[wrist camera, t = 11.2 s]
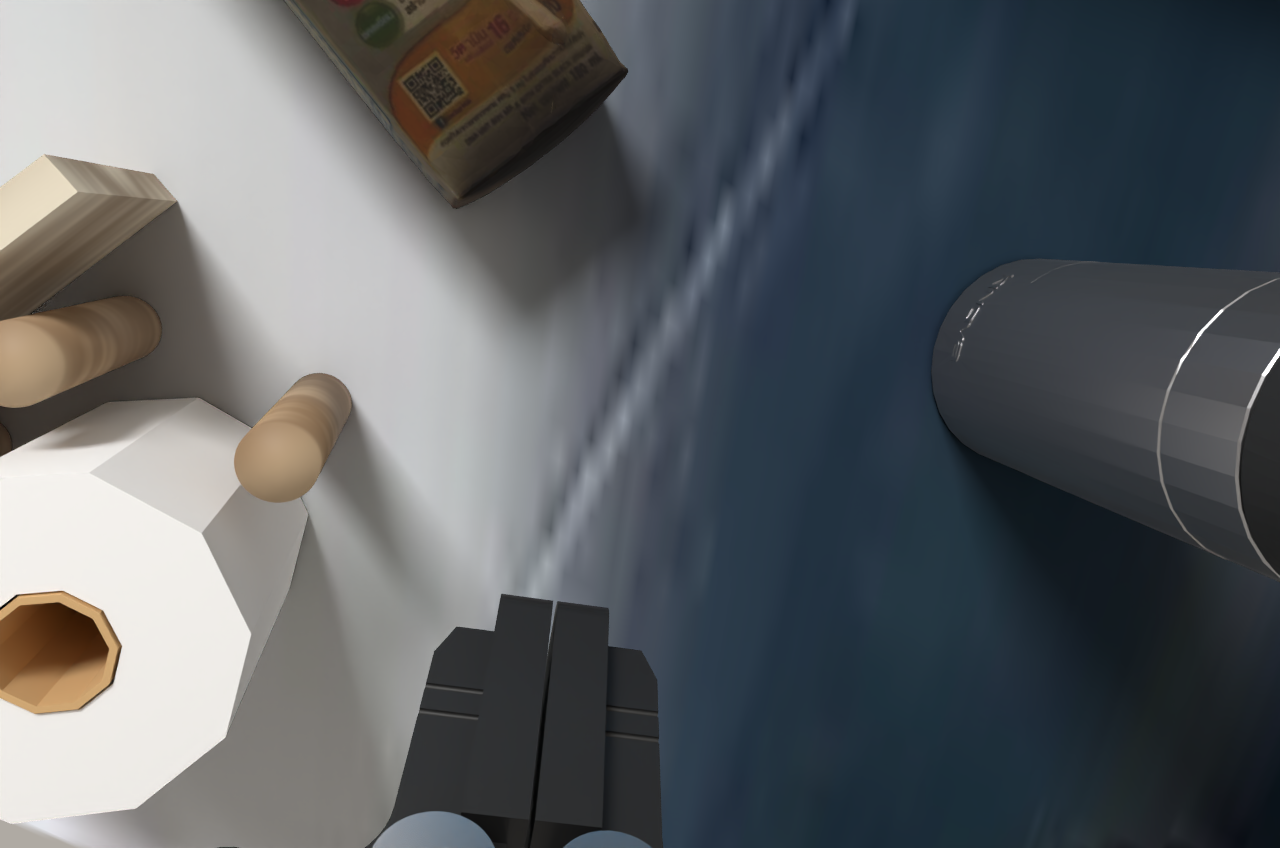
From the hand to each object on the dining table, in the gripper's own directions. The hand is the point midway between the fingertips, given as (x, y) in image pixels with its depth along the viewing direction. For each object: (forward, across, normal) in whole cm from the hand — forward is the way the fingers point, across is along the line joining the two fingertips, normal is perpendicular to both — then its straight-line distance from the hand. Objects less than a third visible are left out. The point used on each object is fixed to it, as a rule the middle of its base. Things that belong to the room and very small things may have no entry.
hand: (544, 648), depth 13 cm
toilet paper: (+21, +14, +16) cm, 30 cm away
